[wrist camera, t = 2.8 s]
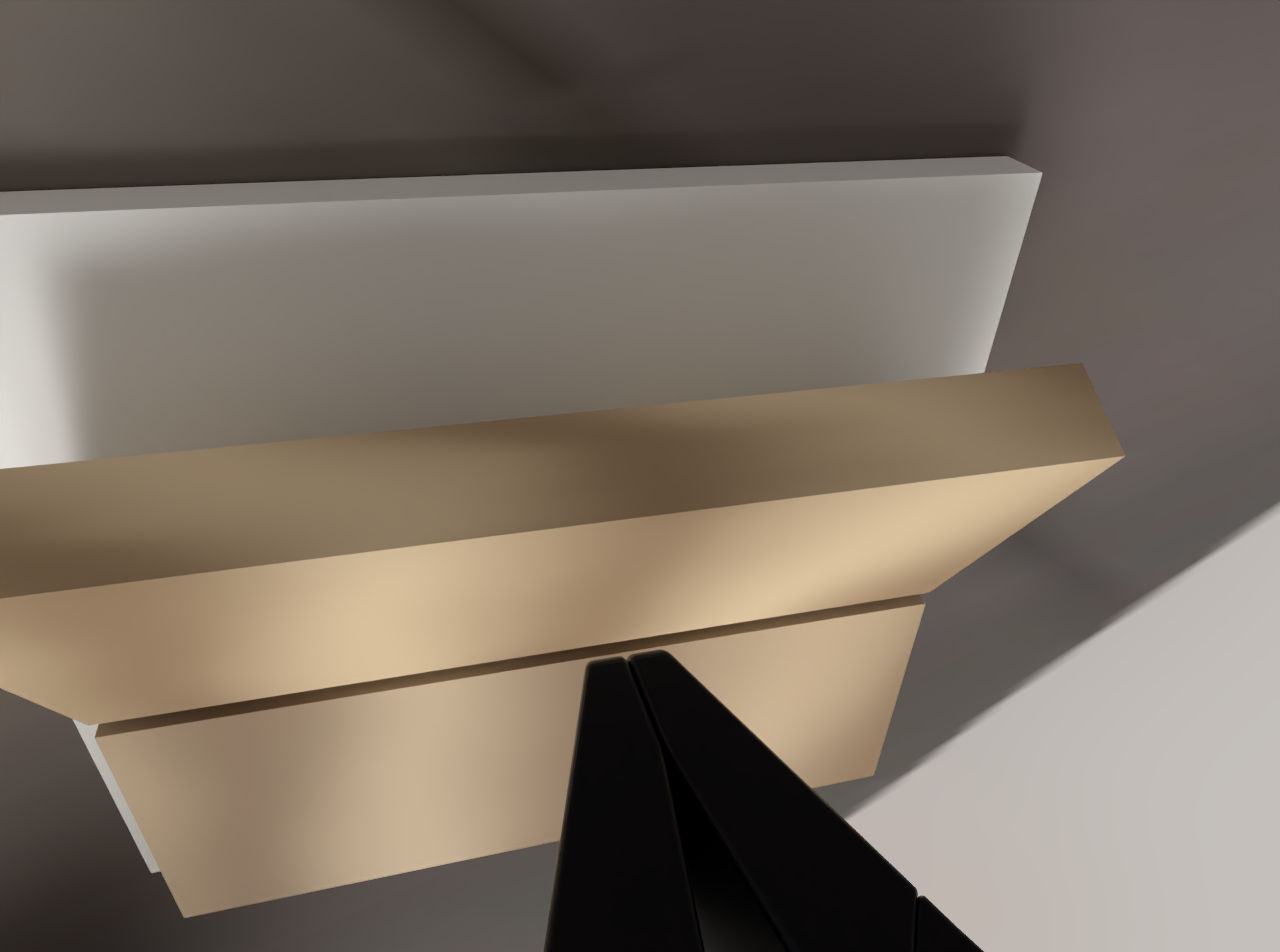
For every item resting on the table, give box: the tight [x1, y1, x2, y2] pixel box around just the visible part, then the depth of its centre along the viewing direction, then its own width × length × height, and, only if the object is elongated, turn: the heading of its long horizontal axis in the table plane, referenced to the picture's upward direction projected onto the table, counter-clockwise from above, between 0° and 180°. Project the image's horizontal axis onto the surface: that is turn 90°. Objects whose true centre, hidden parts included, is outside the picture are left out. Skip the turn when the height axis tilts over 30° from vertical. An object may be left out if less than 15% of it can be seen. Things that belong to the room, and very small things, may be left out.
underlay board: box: [0, 156, 1043, 873], centre depth 17 cm, size 17×14×1 cm
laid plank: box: [95, 594, 925, 918], centre depth 18 cm, size 15×6×2 cm, turn 87°
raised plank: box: [0, 363, 1125, 726], centre depth 13 cm, size 15×6×2 cm, turn 87°
